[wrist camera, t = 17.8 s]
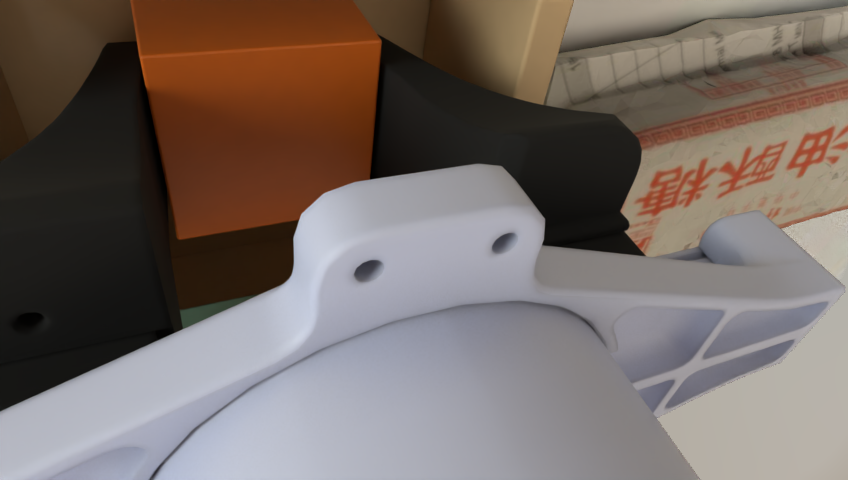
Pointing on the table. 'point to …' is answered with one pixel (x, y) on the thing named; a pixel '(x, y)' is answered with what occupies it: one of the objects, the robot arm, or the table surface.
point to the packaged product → (723, 120)
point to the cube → (257, 105)
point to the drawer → (273, 244)
